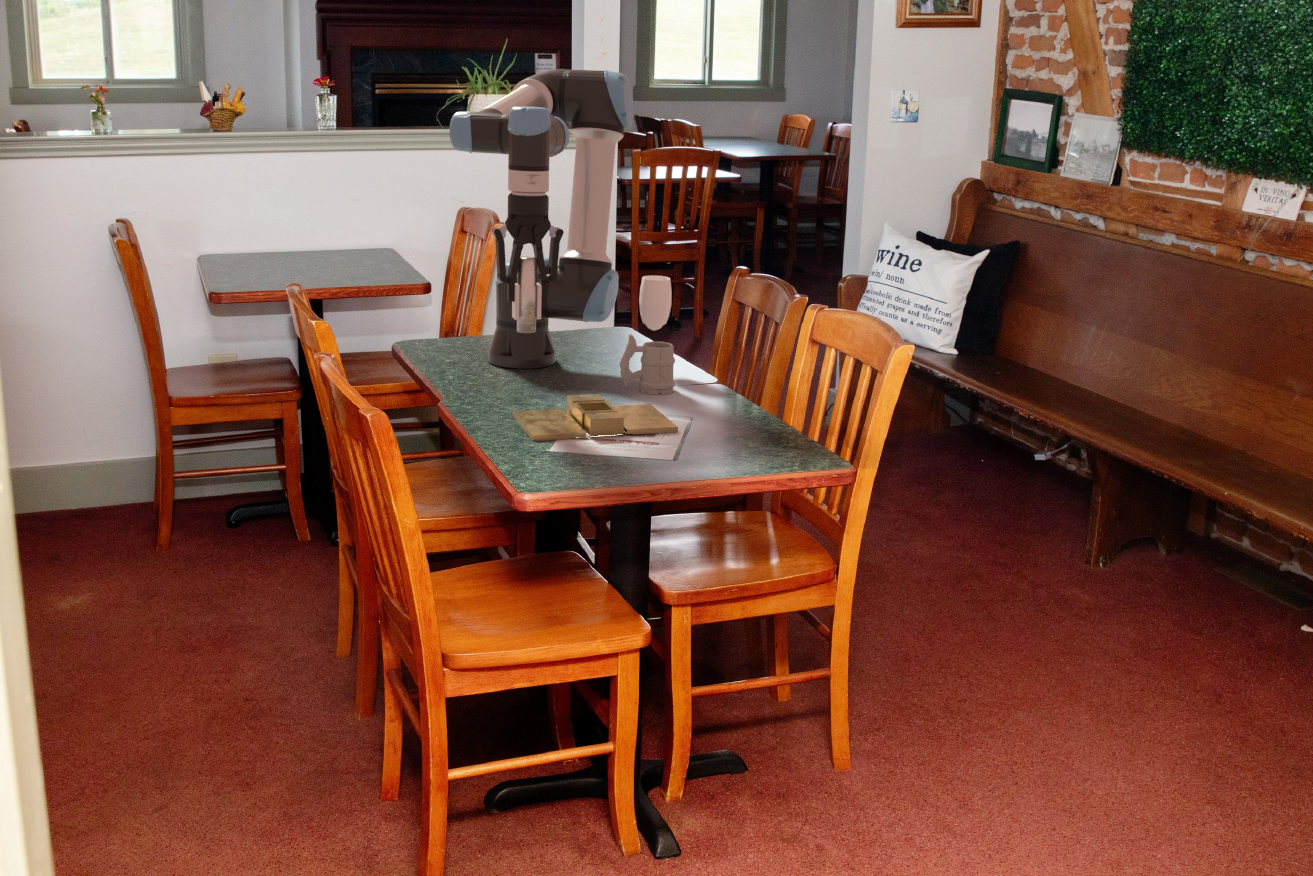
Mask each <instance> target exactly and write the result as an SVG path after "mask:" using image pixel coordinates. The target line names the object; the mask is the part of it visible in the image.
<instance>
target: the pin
mask: <svg viewBox="0 0 1313 876" xmlns="http://www.w3.org/2000/svg"><path fill="white" fill-rule="evenodd" d="M517 284H518V285H519V286H520V288H519V320H517V332H519V333H535V332H536V291H537V258H535V256H521V257H520V262H519V268H518V278H517Z"/></svg>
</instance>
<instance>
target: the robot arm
mask: <svg viewBox="0 0 1313 876" xmlns="http://www.w3.org/2000/svg"><path fill="white" fill-rule="evenodd" d="M633 95H634V94H633V90H632V85H631V83H630V80H629V78H628V77H627V75H625V74H624V73H623V72H618V71H617V72H616V71H610V70H587V69H568V68H567V69H566V68H558V69H557V68H556V69H551V70H546V71H542V72H540V73H539V72H538V73H536V74H533V75H531V76H528V77H526V78H524V79H523V80H521V81H519V82H517V83H516V84H515V85H514V86H513V87H512V89H511V92H509V93H508V94H506V95H504V96H503V97H501V98H499V99H498V100H496V101H494V102H493V103H491V104H489V105H487V106H486V107H484V108H483V109H480V110H478V111H470V110H466V111H456V112H455V113H454V114H453V115H452V117H451V119H450V123H449V140H450V143H451V145H452V147H453V148H454V149H455V151H458V152H466V153H467V152H468V153H469V154H473V153H476V154H477V153H478V154H479V153H481V154H496V155H497V154H498V155H499V154H500V155H507V156H508V157H507V159H508V160H507V161H508V166H507V168H508V170H507V172H508V173H507V178H508V179H507V190H508V191H509V192H510V193H509V194H508V195H507V216H506V217H507V218H506V219H505V222H504V224H503V225H500V226H498V227H496V226H495V227H492V228H491V233H492V235H493V238H494V240H495V241H494V242H495V256H496V257H495V259H496V281H495V286H496V290H495V292H496V295H495V297H496V299H495V300H496V302H495V305H496V306H495V308H496V309H495V312H496V315H495V316H496V317H495V321H496V322H495V330H494V333H493V336H492V338H491V342H490V344H489V347H488V352H487V361H488V362H489V364H492V365H494V366H497V367H502V368H509V369H539V368H540V369H541V368H546V367H550V366H553V365H554V364H555V363H556V350H555V346H554V343H553V340H552V337H551V336H552V335H551V333H550V329H549V319H555V320H567V321H576V322H584V323H590V322H591V323H601V322H604V321H606V320H607V319H608V318H609V317H610V315H611V313H612V312H613V309H614V307H615V303H616V300H617V297H618V291H619V280H620V277H619V273H618V271H616V270H615V269H612V268H613V261H612V260H611V259H610V257H608V255H607V247H608V246H607V244H608V234H609V225H610V224H609V222H610V212H611V211H610V210H611V201H612V200H611V199H612V190H613V180H614V179H613V178H614V169H615V168H614V166H615V158H616V157H615V156H616V148H617V147H616V145H617V144H618V143H619V142H620V141H621V140H622V139H623V138H624V135H625V134H624V133H625V130H628V129H631V128H632V126H633V124H634V116H635V114H634V113H635V111H634V110H635V108H634V107H635V105H634V96H633ZM567 125H570V130H569V127H568V126H567ZM570 133H571V135H572V136H573V138H574V139H575V140H576V143H575V144H576V145H575V155H574V165H573V166H574V167H573V177H572V178H573V180H572V188H571V189H572V190H571V201H570V202H571V203H570V213H569V223H568V235H567V247H566V251H564V252H563V253H562V254H561V255H560V244H561V240H562V238H563V236H564V229H562V228H560V227H556V226H554V225H552V223H551V220H550V218H549V208H550V207H549V204H550V202H549V200H550V199H549V196H548V195H547V193H548V192H550V187H549V186H550V158H552V157H555V156H557V155H560V154H561V153H563V152H564V151H565V149H566V148H567V147H568V145H569V142H570V138H571V135H570ZM506 232H508V234H509V235H510V236H511V238H512V239H513V242H512V249H511V254H510V259H509V260H506V249H505V248H506V245H505V244H506V243H505V238H506V236H507V233H506ZM548 232H549V235H548V236H549V237H550V242H549V254H548V257H546V256H545V255H544V251H543V248H544V247H543V246H544V245H543V241H542V240H543V239H544V238H545V236H546V235H547V233H548ZM528 244H531V246H532V249H533V254H534V256H533V257H535V258H537V291H536V332H535V333H519V332H517V320H519V288H520V286H519V285H518V284H517V278H518V268H519V262H520V257H522V256H521V255H522V251H523V248H524V245H528Z"/></svg>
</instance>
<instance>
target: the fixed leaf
mask: <svg viewBox="0 0 1313 876" xmlns="http://www.w3.org/2000/svg"><path fill="white" fill-rule="evenodd" d="M613 406H614V405H612V404H611V403H610V402H609V401H608V400H605V401H595V402H574V403H572V417H571V416H570V415H569V414H568V413H567V410H566V409H564V408H556V409H535V410H533V409H532V410H517V411H516V410H515V411H514V410H513V411H512V417H513V418H514V420H515V421H516V422H517V424H519V426H520V427H521V429H522V430H523V431H524V433H526V434H527V435H528V437H529V438H530V439H531V441H532V442H536V441H537V442H539V441H540V442H541V441H555V440H556V441H557V440H572V439H571V438H576V437H586V438H587V434H586V433H588V434H589V435H590V436H598V435H614V434H615V435H617V434H623V435H624V432H623V431H624V417H623V416H622V415H621V414H620V413H618V410H617V409H616V408H615V407H613ZM576 439H577V438H576Z"/></svg>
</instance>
